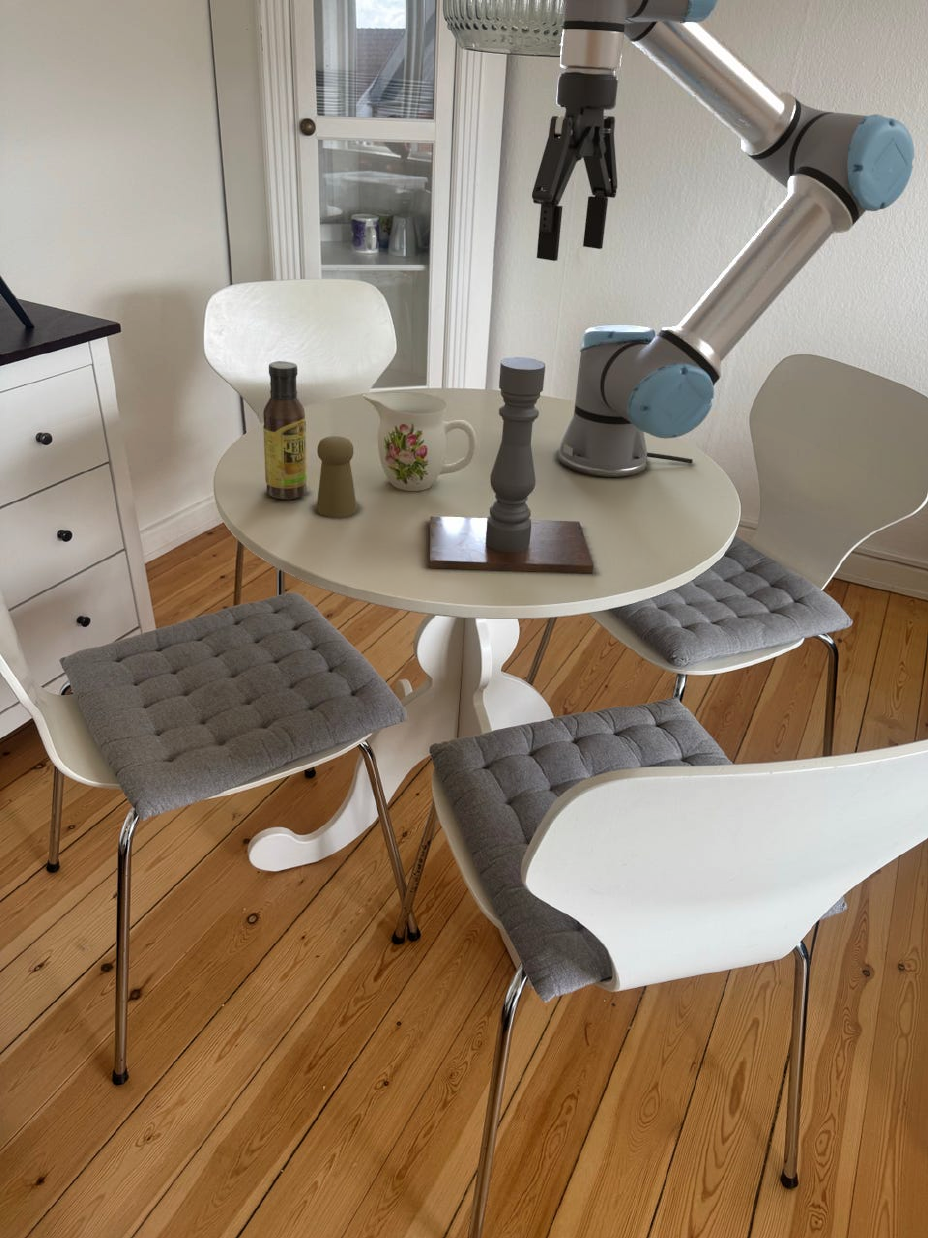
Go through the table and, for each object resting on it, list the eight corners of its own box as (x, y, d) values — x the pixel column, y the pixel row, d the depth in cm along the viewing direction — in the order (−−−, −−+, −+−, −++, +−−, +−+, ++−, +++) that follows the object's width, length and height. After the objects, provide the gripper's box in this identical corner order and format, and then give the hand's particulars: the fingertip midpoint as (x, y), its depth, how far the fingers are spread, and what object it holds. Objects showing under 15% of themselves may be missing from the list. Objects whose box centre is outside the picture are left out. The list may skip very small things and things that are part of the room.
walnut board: (578, 528, 135) (579, 521, 135) (592, 573, 123) (593, 565, 123) (430, 523, 134) (430, 516, 133) (429, 568, 122) (430, 560, 121)
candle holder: (512, 529, 131) (528, 354, 118) (538, 546, 127) (557, 367, 114) (476, 538, 128) (488, 359, 115) (501, 556, 124) (517, 372, 111)
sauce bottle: (290, 505, 137) (283, 373, 127) (257, 495, 139) (248, 365, 129) (316, 491, 142) (312, 363, 132) (284, 482, 144) (278, 356, 134)
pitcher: (469, 502, 141) (474, 416, 134) (355, 491, 143) (354, 405, 136) (477, 476, 151) (482, 394, 144) (370, 465, 152) (370, 384, 145)
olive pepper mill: (335, 521, 133) (333, 449, 127) (307, 508, 136) (305, 438, 131) (365, 509, 137) (365, 439, 132) (337, 497, 140) (336, 428, 135)
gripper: (604, 73, 125) (586, 239, 135) (512, 67, 106) (500, 260, 117) (655, 75, 121) (633, 246, 132) (570, 70, 103) (551, 268, 114)
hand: (570, 253), depth 125 cm, fingers open, 13 cm apart
